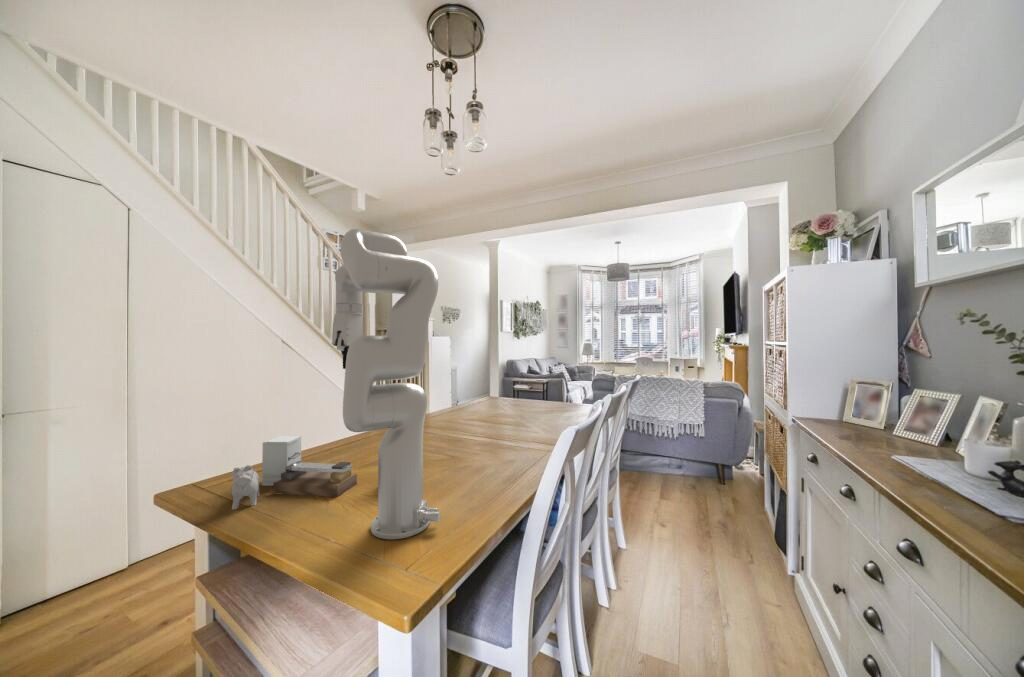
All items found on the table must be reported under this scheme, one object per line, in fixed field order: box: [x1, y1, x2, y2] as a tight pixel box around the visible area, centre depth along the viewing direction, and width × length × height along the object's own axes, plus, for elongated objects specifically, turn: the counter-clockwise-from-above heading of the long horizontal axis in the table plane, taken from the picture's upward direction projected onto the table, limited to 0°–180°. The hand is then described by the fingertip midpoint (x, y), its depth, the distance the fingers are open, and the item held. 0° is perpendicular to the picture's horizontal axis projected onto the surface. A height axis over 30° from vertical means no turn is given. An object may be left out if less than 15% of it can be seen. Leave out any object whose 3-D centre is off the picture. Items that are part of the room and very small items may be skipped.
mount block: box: [272, 468, 358, 498], centre depth 101 cm, size 19×9×5 cm, turn 83°
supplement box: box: [261, 435, 302, 487], centre depth 107 cm, size 7×7×13 cm
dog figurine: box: [230, 464, 260, 511], centre depth 91 cm, size 5×13×11 cm, turn 31°
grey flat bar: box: [285, 460, 353, 473], centre depth 101 cm, size 17×5×2 cm, turn 83°
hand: (349, 368), depth 112 cm, fingers closed
